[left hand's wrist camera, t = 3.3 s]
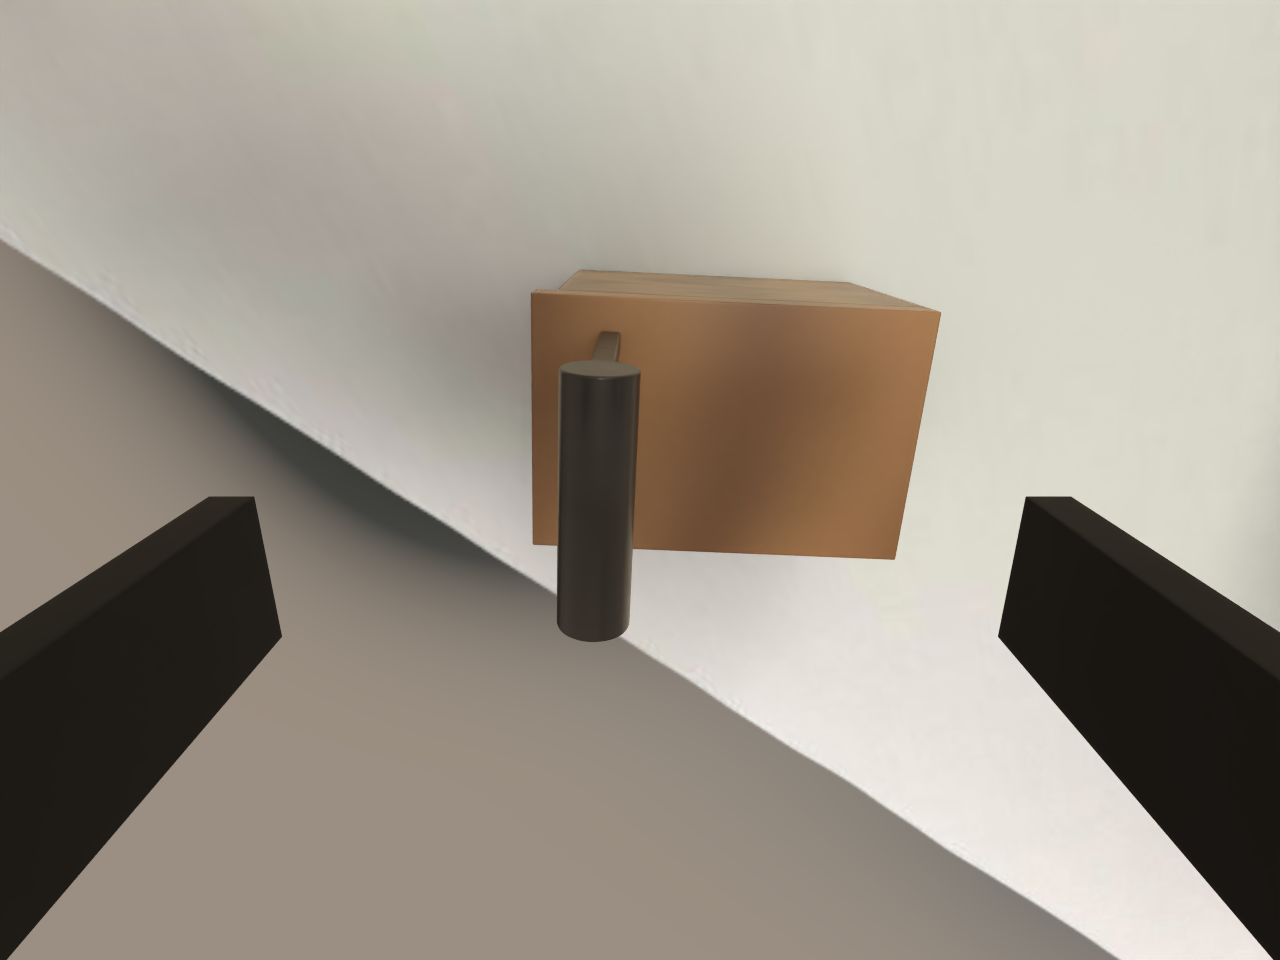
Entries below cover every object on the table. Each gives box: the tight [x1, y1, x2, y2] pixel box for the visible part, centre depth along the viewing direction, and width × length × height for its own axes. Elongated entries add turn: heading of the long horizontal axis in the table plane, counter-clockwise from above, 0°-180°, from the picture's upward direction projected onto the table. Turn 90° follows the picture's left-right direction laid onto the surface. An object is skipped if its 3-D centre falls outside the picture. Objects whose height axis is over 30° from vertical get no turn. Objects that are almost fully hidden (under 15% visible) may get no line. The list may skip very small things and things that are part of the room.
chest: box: [558, 270, 926, 308], centre depth 32 cm, size 13×9×10 cm
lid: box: [531, 289, 941, 642], centre depth 23 cm, size 14×9×9 cm
